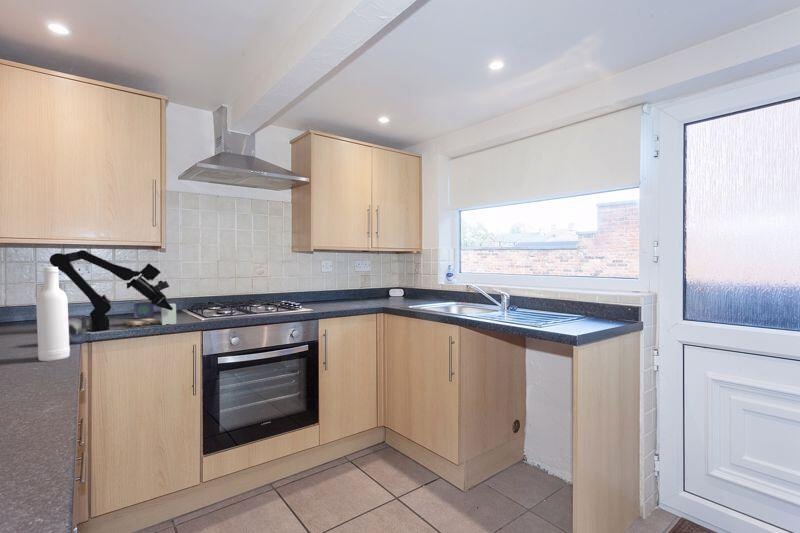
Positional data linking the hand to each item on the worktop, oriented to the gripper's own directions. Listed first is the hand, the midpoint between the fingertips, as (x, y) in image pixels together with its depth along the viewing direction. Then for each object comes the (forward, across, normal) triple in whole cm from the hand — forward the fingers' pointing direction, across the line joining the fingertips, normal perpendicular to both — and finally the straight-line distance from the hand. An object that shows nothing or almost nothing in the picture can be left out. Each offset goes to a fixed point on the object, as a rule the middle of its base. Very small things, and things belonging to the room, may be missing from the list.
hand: (171, 308), depth 201 cm
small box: (-21, -29, +32) cm, 48 cm away
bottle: (-22, -56, +32) cm, 68 cm away
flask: (-2, +31, +13) cm, 33 cm away
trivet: (-4, +10, +14) cm, 17 cm away
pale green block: (+4, 0, +6) cm, 7 cm away
